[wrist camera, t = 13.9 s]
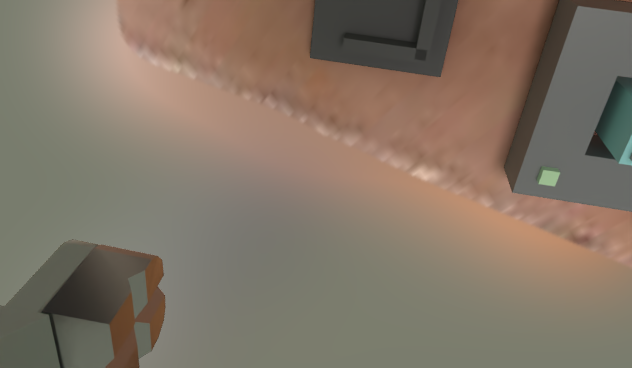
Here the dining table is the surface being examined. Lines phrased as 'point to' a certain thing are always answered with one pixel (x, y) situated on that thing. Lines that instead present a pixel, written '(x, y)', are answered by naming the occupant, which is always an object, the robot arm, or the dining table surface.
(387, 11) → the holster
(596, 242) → the dining table surface
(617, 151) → the plug
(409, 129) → the dining table surface
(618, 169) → the port
